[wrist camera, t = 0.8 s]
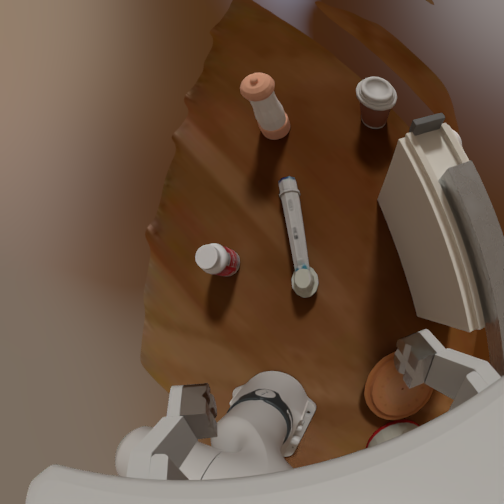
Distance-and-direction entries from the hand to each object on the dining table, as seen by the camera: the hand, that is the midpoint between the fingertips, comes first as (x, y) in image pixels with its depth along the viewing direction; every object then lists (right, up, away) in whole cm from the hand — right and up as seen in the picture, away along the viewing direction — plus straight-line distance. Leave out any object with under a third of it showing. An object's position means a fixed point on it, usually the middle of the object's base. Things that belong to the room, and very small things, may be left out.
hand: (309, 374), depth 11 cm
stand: (+32, +5, +41) cm, 53 cm away
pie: (+28, -22, +39) cm, 53 cm away
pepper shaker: (+4, +35, +55) cm, 65 cm away
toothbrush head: (+8, +8, +50) cm, 51 cm away
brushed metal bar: (+27, +1, +15) cm, 31 cm away
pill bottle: (-8, +2, +53) cm, 54 cm away
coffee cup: (+27, +37, +48) cm, 66 cm away
